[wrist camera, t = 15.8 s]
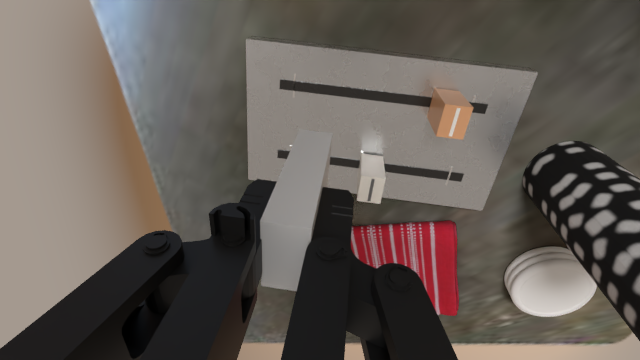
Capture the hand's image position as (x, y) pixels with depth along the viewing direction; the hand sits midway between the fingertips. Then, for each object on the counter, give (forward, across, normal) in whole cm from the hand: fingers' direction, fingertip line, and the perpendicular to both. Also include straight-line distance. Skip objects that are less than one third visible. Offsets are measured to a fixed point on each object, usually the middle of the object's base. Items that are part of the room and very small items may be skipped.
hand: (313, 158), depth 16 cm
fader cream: (+20, +4, -11) cm, 24 cm away
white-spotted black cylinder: (+23, +26, -11) cm, 37 cm away
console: (+23, +4, -8) cm, 24 cm away
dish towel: (+23, +7, -30) cm, 38 cm away
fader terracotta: (+21, +10, -4) cm, 23 cm away
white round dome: (+23, +30, -26) cm, 46 cm away
